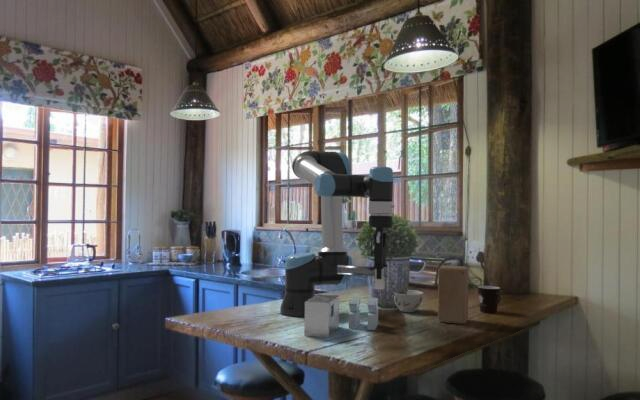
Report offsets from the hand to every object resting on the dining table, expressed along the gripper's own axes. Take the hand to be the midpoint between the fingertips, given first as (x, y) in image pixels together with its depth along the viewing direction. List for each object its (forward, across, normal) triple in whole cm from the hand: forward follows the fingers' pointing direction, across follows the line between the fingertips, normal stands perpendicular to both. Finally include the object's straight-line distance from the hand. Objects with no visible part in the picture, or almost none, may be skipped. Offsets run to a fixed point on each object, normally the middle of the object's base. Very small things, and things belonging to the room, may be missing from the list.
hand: (379, 288), depth 163 cm
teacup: (+16, +48, -6) cm, 51 cm away
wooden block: (+16, +33, -23) cm, 43 cm away
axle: (-4, 0, +6) cm, 7 cm away
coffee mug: (+16, +54, -38) cm, 68 cm away
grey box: (+16, +3, +19) cm, 25 cm away
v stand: (+16, +14, +7) cm, 22 cm away
